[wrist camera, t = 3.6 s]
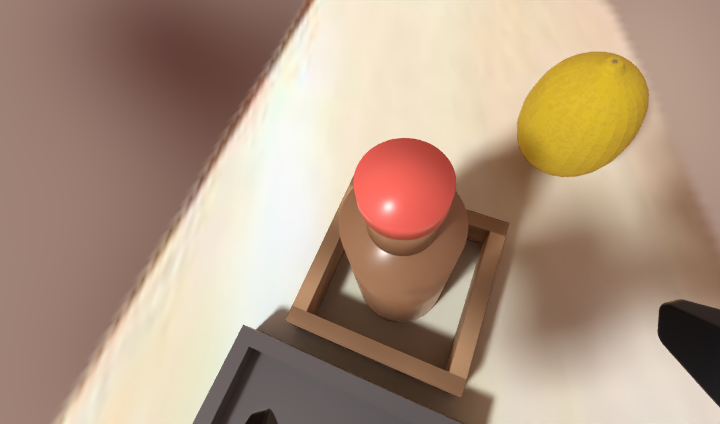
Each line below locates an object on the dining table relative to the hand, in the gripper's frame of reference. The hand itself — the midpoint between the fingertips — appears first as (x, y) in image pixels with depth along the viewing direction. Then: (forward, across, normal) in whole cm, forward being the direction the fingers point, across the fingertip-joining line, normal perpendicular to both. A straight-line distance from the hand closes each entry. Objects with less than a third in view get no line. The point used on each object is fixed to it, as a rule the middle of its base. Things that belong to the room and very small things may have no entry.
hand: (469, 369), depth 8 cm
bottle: (+12, 0, +5) cm, 13 cm away
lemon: (+15, -11, +1) cm, 19 cm away
